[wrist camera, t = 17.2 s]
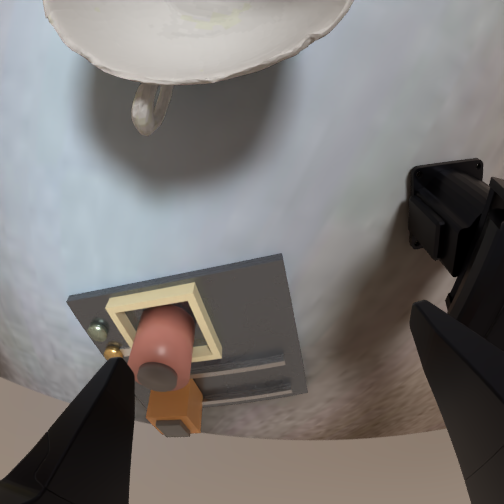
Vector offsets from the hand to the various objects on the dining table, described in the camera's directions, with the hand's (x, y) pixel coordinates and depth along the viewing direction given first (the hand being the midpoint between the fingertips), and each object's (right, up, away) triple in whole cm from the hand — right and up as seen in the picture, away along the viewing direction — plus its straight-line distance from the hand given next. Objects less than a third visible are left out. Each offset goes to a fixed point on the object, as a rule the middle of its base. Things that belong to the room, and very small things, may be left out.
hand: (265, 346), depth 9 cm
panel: (-5, -6, +19) cm, 21 cm away
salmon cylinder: (-7, -3, +16) cm, 18 cm away
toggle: (-8, -11, +21) cm, 25 cm away
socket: (-7, -3, +17) cm, 18 cm away
